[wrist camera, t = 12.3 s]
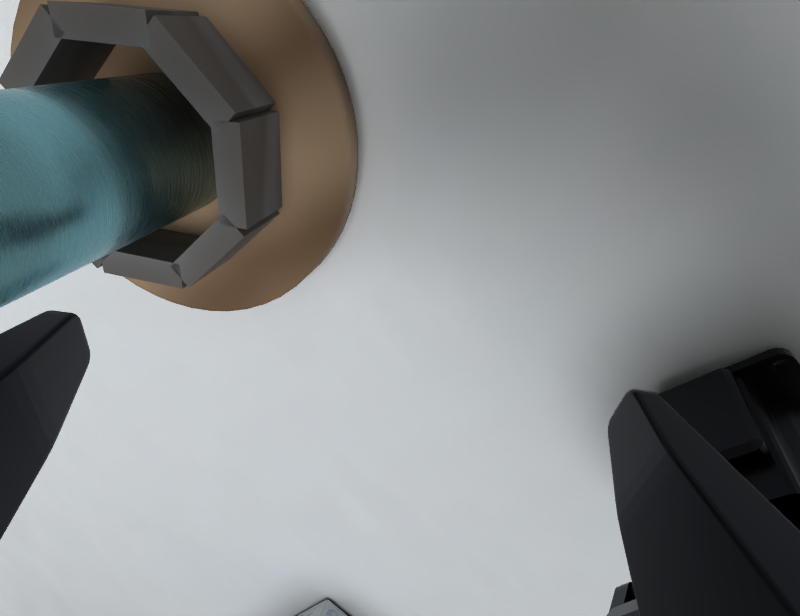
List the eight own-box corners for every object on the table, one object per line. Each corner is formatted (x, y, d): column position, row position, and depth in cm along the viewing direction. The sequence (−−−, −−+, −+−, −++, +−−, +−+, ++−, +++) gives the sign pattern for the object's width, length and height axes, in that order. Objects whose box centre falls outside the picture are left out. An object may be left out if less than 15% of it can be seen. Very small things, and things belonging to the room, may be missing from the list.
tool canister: (204, 60, 18) (-260, 104, 8) (247, 203, 20) (-79, 382, 10) (92, 85, 20) (-412, 148, 10) (143, 215, 22) (-230, 380, 12)
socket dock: (434, 175, 19) (407, 205, 16) (213, 349, 26) (162, 395, 23) (153, -194, 16) (50, -248, 13) (-13, 109, 23) (-108, 122, 20)
